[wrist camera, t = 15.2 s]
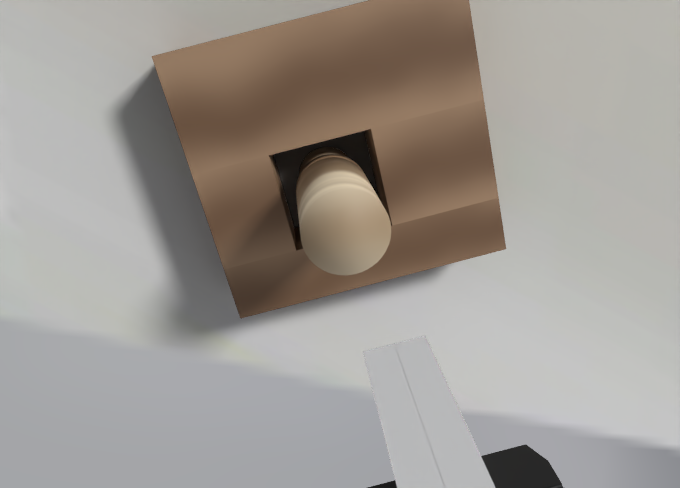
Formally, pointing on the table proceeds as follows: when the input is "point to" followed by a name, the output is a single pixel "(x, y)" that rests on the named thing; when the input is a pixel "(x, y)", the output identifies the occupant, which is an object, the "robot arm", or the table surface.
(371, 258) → the peg
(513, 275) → the table surface
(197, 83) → the board
